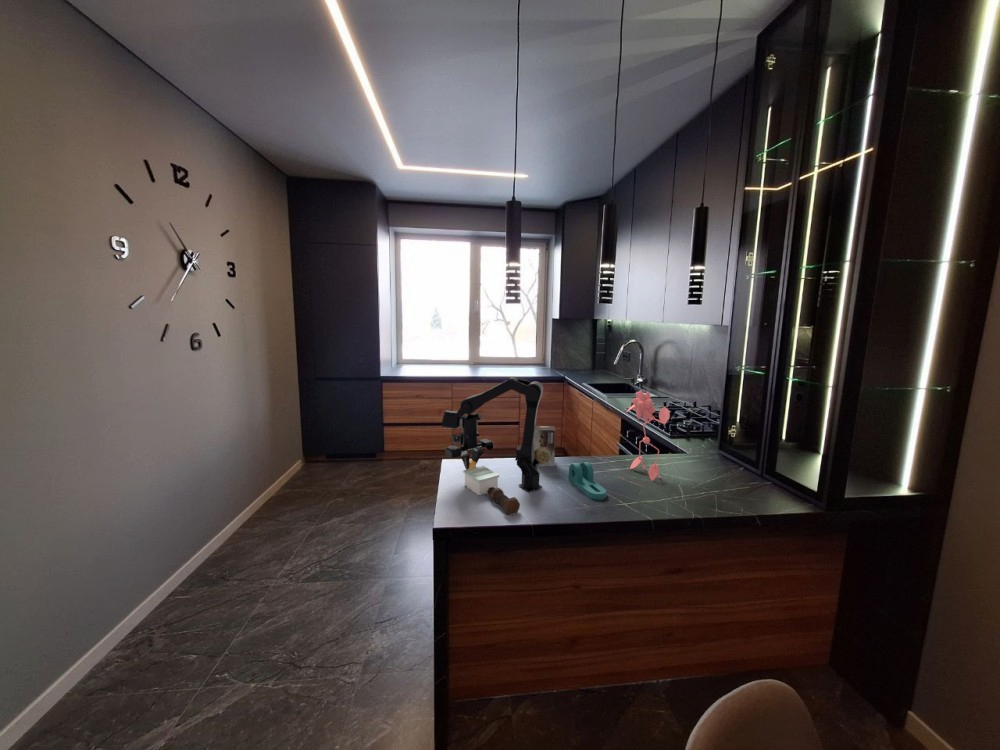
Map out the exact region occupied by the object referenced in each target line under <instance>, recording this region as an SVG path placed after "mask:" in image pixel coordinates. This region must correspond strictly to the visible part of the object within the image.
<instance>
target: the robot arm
mask: <svg viewBox="0 0 1000 750" xmlns="http://www.w3.org/2000/svg"><path fill="white" fill-rule="evenodd" d="M511 390H513V391H515V392H517V393H518V394H521V395H524V397H525V400H524V401H525V406H526V411H525V412H526V413H525V418H524V419H525V420H524V426H523V427H524V428H523V435H522V442H521V443H522V444H518V446H517V448H516V452H515V453H516V456H515V459H514V461H516V465H517V466H518V468H519V469H520V471H521V483H519V484H518V487H520V488H522V489H523V490H525V491H527V492H529V493H531V492H534V491H537V490H540V489H543V486H542V485H540V477H541V476H540V472H539V468H540V467H541V466H540V462H539V461H538V460H537V459H536V458H535V453H534V433H535V426H537V417H538V410H539V409H538V408H539V405H540V401H541V399H542V396H543V393H544V385H543V384H542V383H541V382H539V381H537V380H536V381H535V380H533V381H529V380H526V379H520V378H517V377H515V376H512V377H509V378H507V379H506V380H504V381H503V382H501V383H499V384H497V385H495V386H493V387H492V388H489V389H488V390H486V391H483V392H480V393H477V394H473V395H470V396H468V397H466V398H464V399H463V400H462V401H461V403H460V408H459V409H458V410H457V411H452V410H447V409H446V410H445V411H443V414H444V415H443V417H442V421H441V426H442V428H443V429H448V430H459V429H460V428H461V429H462V431H460V435H458V434H457V433H453V434H450V441H451V443H452V444H453V443H455V445H449V446H446V447H445V450H444V454H445V455H446V456H447V457H449V458H452V459H456V458H459V457H460V458H461V460H462V463H463V465H464V467H465V470H468V468H469V459H472V460H474V461H475V462H476V465H477V464H478V462H479V460H480V458H481V456H482V455H483V454H484V453H485V450H487V451H491V450H494V449H495V445H494V444H495V443H494V441H493V440H490V439H488V438H483V439H482V438H481V439H478V438H479V437H480V433H479V432H478V421H481V420H482V419H484V415H482V414H481V413H480V412H479V411H478V412H477V413H474V412H476V411H477V410H478V409H479V408H481V407H482V406H483V405H484V404H486V403H487V402H490V401H492V400H494V399H495V398H497V397H499V396H501V395H504V394H505V393H507V392H510V391H511ZM458 444H459V446H460V447H459V446H457V445H458ZM483 448H485V450H483ZM469 451H470V453H471V454H469V453H468V452H469ZM470 455H471V456H470ZM470 457H471V458H470Z"/></svg>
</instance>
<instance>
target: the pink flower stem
mask: <svg viewBox="0 0 1000 750" xmlns="http://www.w3.org/2000/svg"><path fill="white" fill-rule="evenodd" d="M631 403H632V405H631V406H630V407H629V408H628V409H627V410H626V411H625V413H628V412H631V410H634V412H635V415H636V418H637V420H640V419H642V420H643V421H644V423H643V424H642V428H643V433H644V437H643V438H642V440H640V441H639V445H638V446H639V449H638V457H636V458H635V459H634V460H633V462H632V463H631V464H630V468H629V469H630V470H633V469H635V468H637V467H638V466H639V465H640V464H641V466H642V468H643V470H644V471H645V470H646V468H645V465H644V463H643V457H642V455H641V443H642V442H643V443H644V444H648V445H650V446H651V447H653V448H654V449H655V450H657V454H656V458H655V462H654V463H653V464H651V465H650V466H649V469H648V477H649V479H650V480H651V482H653V481H654V480H655V479H657V478H658V479H661V477H660V471H659V466H658V465H657V462H658V457H659V453H660V449H659V448H657V447H656V446H654V445H653V444H652V443H650V441H651V439H650V438H649V436H647V434H646V433H647V432H646V429H645V425H646V424H648V423H650V422H651V421H656V422H658V423H661V424H662V425H664V426H665V425H666V424H667V422H668V421H669V420H670V415H671V414H670V410H669V408H667V407H666V406H663V408H660V411H659V412H658V418H659V419H656V417H655V416H653V414H654V413H655V412H656V408H655V407H654V406H653V399H651V394H650V391H646V393H644V392H643V390H641V389H640V390H639V391H636V392H635V398H633V399H632V400H631ZM621 478H622V479H623V480H626V481H628V482H629V480H628V479H626V478H624V477H623V476H621ZM631 483H632V484H634V485H638V486H639V485H640V486H642V484H641V483H636V482H633V481H631ZM643 486H645V487H647V485H645V484H643Z"/></svg>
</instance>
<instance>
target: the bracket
mask: <svg viewBox="0 0 1000 750" xmlns="http://www.w3.org/2000/svg"><path fill="white" fill-rule="evenodd" d="M568 481H569V482H570V483H572V485H574V486H575V487H576V488H577V489H578V490H579V491H581V492H582V493H583V494H584V495H585V494H586V495H585V496H587V497H588V498H589V497H590V498H589V499H592V498H593V499H592V500H596V499H602V500H605V499H606V497H607V490H606V489H605V488H604V487H603V486H602V485H600V484H599V483H598V482H597V481H596V480H594V468H593V466H592V464H591V463H590V462H589V461H585V462H580V463H577V462H576V463H571V464H570V465H569V468H568ZM604 498H605V499H604Z"/></svg>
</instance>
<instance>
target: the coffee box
mask: <svg viewBox="0 0 1000 750" xmlns="http://www.w3.org/2000/svg"><path fill="white" fill-rule="evenodd" d="M533 445H534V453H535V458H536V459H537V460H538V461H539V462H540V466H539V467H555V465H556V464H555V459H556V458H555V454H556V453H555V452H556V450H555V449H556V428H555V425H554V426H553V425H535V433H534V441H533Z"/></svg>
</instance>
